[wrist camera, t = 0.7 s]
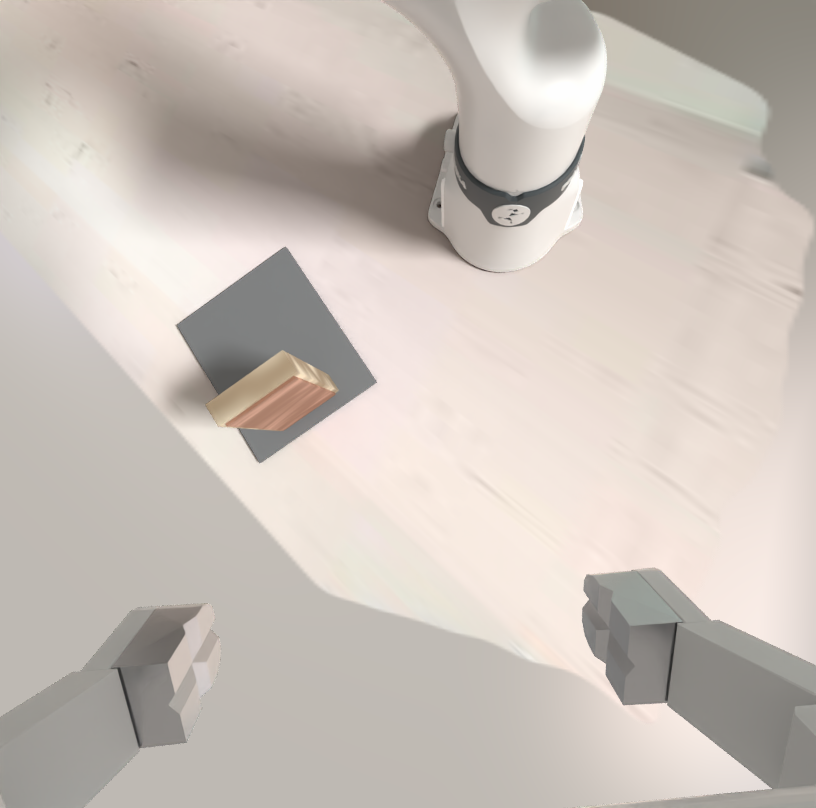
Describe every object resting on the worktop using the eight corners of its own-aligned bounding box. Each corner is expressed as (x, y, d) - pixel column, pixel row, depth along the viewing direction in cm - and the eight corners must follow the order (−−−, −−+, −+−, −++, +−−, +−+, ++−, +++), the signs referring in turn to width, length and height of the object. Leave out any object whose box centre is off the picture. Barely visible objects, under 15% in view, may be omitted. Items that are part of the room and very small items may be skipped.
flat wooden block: (340, 392, 53) (297, 374, 39) (282, 433, 53) (219, 429, 39) (328, 374, 53) (282, 350, 39) (271, 414, 53) (205, 404, 40)
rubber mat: (377, 382, 53) (376, 381, 52) (261, 462, 53) (259, 462, 53) (286, 247, 56) (285, 246, 55) (178, 325, 57) (176, 325, 56)
